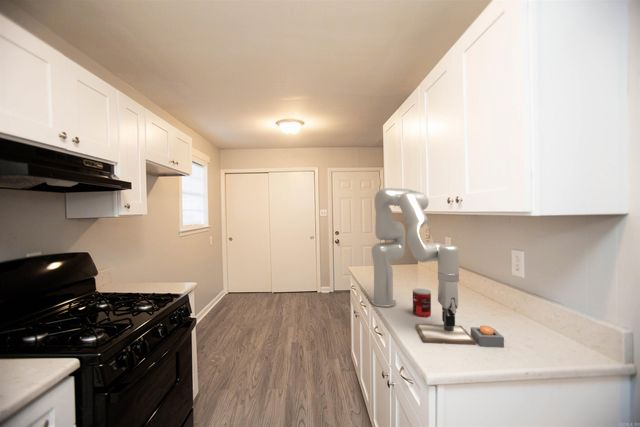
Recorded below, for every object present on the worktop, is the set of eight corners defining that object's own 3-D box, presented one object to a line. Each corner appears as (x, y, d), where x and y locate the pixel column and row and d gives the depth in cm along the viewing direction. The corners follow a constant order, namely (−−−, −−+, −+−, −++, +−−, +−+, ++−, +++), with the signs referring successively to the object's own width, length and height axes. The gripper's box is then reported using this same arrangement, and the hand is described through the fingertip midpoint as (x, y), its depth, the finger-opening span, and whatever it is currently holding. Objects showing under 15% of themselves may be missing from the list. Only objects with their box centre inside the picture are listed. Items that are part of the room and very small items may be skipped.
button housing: (470, 336, 109) (470, 327, 109) (492, 337, 108) (492, 327, 108) (479, 346, 101) (479, 336, 101) (503, 347, 100) (503, 337, 100)
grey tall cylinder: (442, 326, 114) (442, 299, 114) (452, 327, 114) (451, 299, 114) (445, 330, 110) (445, 302, 110) (455, 331, 110) (455, 302, 110)
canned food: (414, 310, 138) (414, 287, 138) (432, 313, 134) (432, 289, 134) (411, 315, 131) (410, 291, 131) (429, 318, 127) (429, 294, 127)
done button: (477, 333, 107) (477, 325, 107) (490, 333, 107) (490, 325, 107) (482, 338, 103) (482, 330, 103) (495, 339, 102) (495, 330, 102)
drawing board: (415, 327, 118) (415, 323, 118) (461, 328, 116) (461, 325, 116) (423, 342, 104) (423, 338, 104) (475, 344, 102) (475, 340, 102)
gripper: (432, 272, 120) (432, 315, 121) (445, 282, 104) (445, 332, 104) (450, 272, 120) (451, 316, 120) (466, 282, 103) (467, 333, 103)
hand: (448, 323), depth 112 cm, fingers closed on grey tall cylinder, 3 cm apart
